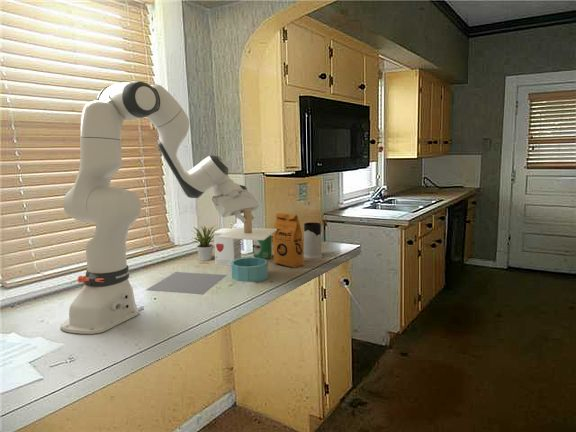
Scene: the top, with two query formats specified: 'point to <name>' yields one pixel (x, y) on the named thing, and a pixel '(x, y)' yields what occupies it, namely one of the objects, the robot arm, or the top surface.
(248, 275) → the bowl
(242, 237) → the peg on square base
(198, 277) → the rubber mat
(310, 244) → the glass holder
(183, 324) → the top surface
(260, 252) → the beverage can
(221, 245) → the supplement box
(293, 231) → the coffee package
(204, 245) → the house plant
